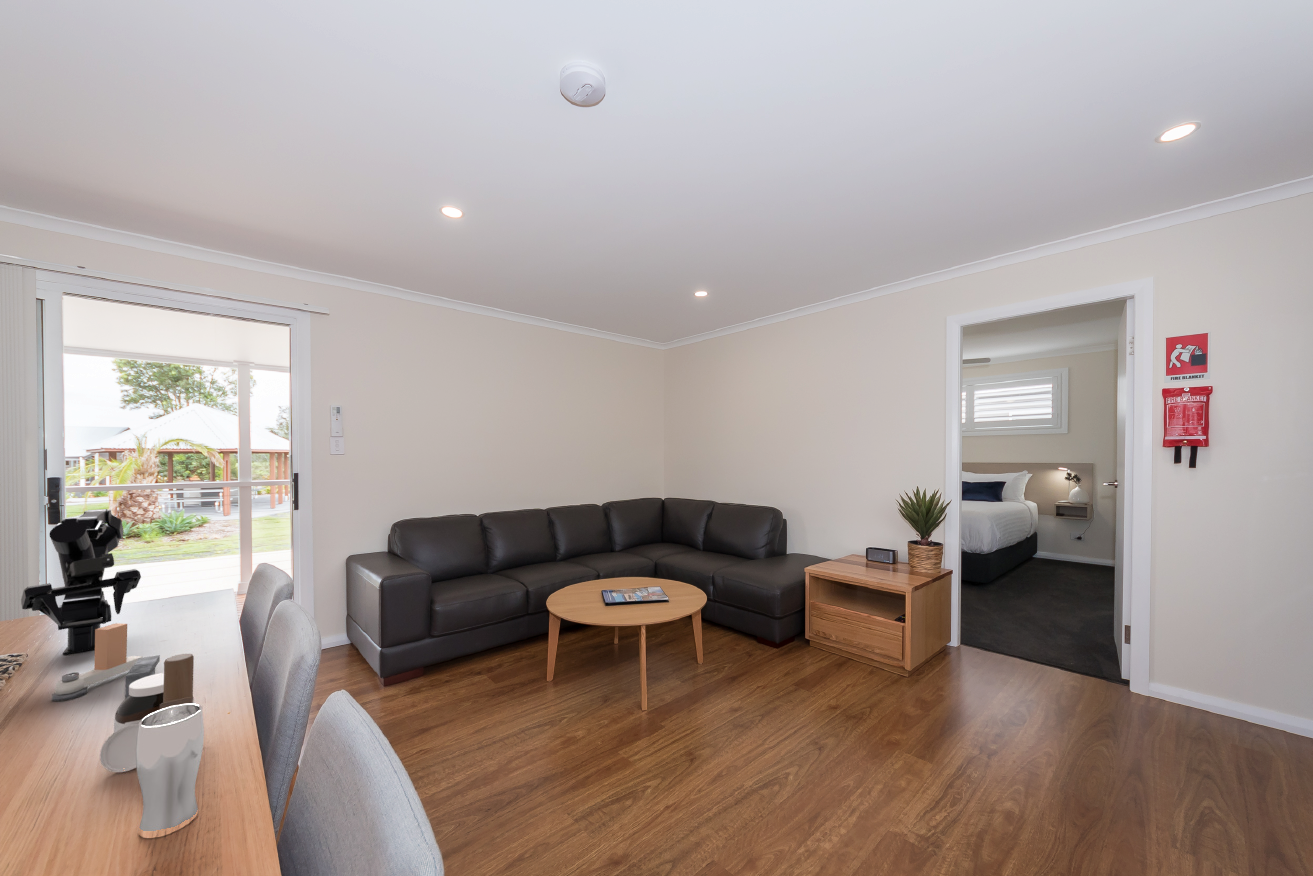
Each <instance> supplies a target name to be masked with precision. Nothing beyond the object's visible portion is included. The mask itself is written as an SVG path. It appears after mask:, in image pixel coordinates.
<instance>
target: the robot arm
mask: <svg viewBox="0 0 1313 876" xmlns="http://www.w3.org/2000/svg"><path fill="white" fill-rule="evenodd" d="M123 536H124V526H123V521H122V519H121V518H119V517H117V516H115V515H113V514H112V510H111V509H107V508H103V509H102V508H99V509H88V510H84V512H83V513H82V514H81V515H80V516H78V517H77V516H76V517H64V518H62V519H61V521H60V522H58V523H57V524H56V526H54V527H53V528H52V529H51V530H50V532H49V538H50V540H51V542H52V544H53V547H54V549H55V551H56V553H57V555H58V559H59V564H60V569H61V574H62V579H63V583H64V584H63V585H64V586H61V587H59V586H58V587H54V588H53V587H52V583H50V582H49V583H43V584H37V585H31V586H27V587H26V588H24V590H23V591H22V596H21V599H20V602H21V603H20V604H21V608H22V610H31V611H33V612H34V611H35V612H36V611H39V612H40V613H42V614H44V615H45V616H47V617H48V618H50V620H51V621H53V622H54V623H56V625H57V629H58V631H62V630H66V629H67V646H66V648H65V649H64V651H63V652H62V655H68V654H69V655H70V654H74V653H76V654H77V653H81V652H87V651H88V652H89V651H93V650H94V651H95V629H98V628H101V625H102V624H103V625H104V624H106V623H109V622H112V608H111V604H109V601H108V600H107V599H105V594H104V591H103V589H105V588H111V587H112V588H113V593H112V595H113V596H112V597H113V604H114V609H115V610H114V611H115V613H116V615H120V613H121V611H122V610H121V609H122V606H123V601H124V598H125V595H126V594H128V593H131V590H134V589H136V588H137V587H138V584H139V583H140V580H141V578H142V576H141V572H140V571H139V570H138V569H136V568H133V569H127V570H121V571H120V570H119V571H116V573H115V575H114V577H111V578H106V579H103V578H104V574H105V569H108V568H109V569H110V568H112V567H114V565H115V559H114V554H113V553H112V551H113V550H115V549H116V548H117V547H118V546H119V543H120V540H121V539H123V538H124V537H123ZM60 596H64V598H63V600H62V603H61V605H58V603H57V598H56V597H60Z"/></svg>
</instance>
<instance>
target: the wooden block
mask: <svg viewBox="0 0 1313 876" xmlns="http://www.w3.org/2000/svg"><path fill="white" fill-rule="evenodd" d="M194 660H195V657H194V654H193V653H180V654H176V655H173V656H170V657H167V658H166V659H165V660H164V662H163V673H164V692H163V703H161V704H160V710H161V709H164V708H167V707H171V706H176V705H181V704H193V697H194V696H193V695H194V662H195V661H194Z"/></svg>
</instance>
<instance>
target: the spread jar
mask: <svg viewBox="0 0 1313 876" xmlns="http://www.w3.org/2000/svg"><path fill="white" fill-rule="evenodd" d="M163 692H164V672H160V673H155V675H151V676H147V677H144V678H141V679H139V680H136V681H134V682H133V683H131V684H130V685H129V696H128V697H127V698H126V699H125V698H124V700H123V701H122V702H121V703H120V705H119V706H118V708H117V709H116V712H115V714H114V719H113V720H114V722H113V733H111V735H110V736H108V737H107V738H106V740H105V741H104V743H103V744H102V746H101V749H100V753H99V761H100V763H101V766H102V767H103V768H104V769H106V770H107V771H110V772H113V773H123V772H128V771H132V770H134V769H137V768H136V744H137V736H138V729H139V722H140V720H141V719H143V718H144V717H145V716H147V715H149V714H151V713H153V712H156V711H158V710H160V704H161V703H163ZM193 704H195V698H194V696H193ZM123 768H125V769H123ZM124 770H125V771H124Z"/></svg>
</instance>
